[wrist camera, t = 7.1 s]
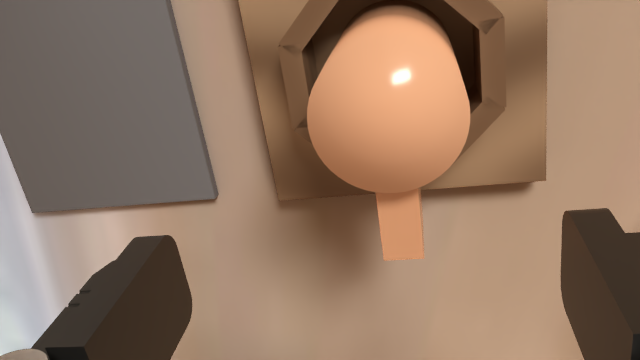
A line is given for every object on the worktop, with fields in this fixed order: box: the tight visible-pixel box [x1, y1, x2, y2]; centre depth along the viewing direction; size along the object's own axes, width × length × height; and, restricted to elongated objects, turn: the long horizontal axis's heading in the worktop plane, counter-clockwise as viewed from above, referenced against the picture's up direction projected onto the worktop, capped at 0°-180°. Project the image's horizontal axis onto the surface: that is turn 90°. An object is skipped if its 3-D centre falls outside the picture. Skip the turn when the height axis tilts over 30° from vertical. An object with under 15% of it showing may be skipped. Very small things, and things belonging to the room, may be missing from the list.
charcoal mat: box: [0, 0, 218, 213], centre depth 32 cm, size 14×12×1 cm
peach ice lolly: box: [307, 0, 470, 260], centre depth 24 cm, size 9×6×9 cm, turn 9°
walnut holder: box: [238, 0, 547, 201], centre depth 27 cm, size 14×14×4 cm
